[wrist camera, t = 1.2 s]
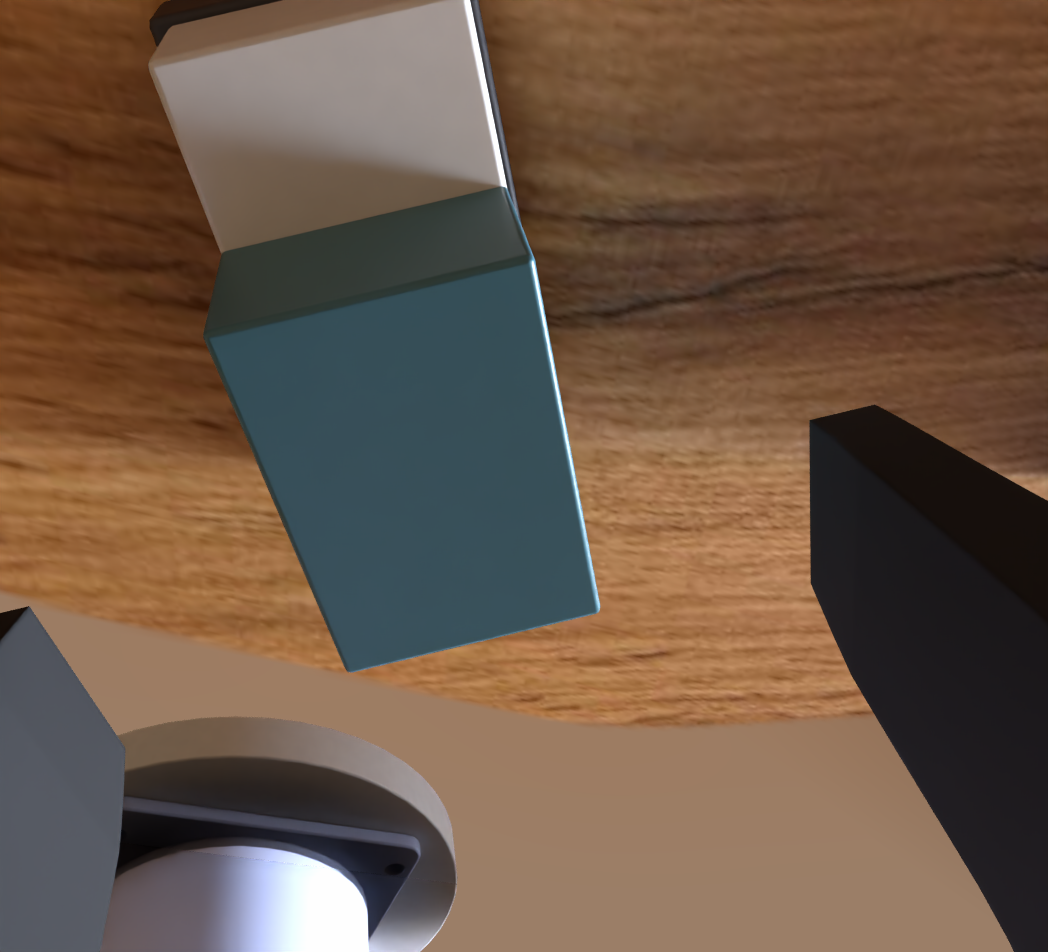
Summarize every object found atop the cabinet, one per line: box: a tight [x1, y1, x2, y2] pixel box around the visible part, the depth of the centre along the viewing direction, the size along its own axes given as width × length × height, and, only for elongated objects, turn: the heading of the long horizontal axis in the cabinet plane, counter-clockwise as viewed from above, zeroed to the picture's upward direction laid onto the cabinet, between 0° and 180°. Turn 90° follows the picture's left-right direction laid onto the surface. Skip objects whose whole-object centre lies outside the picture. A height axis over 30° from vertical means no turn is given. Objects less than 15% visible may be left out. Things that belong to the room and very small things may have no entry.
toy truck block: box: [148, 0, 600, 672], centre depth 12 cm, size 7×4×4 cm, turn 10°
